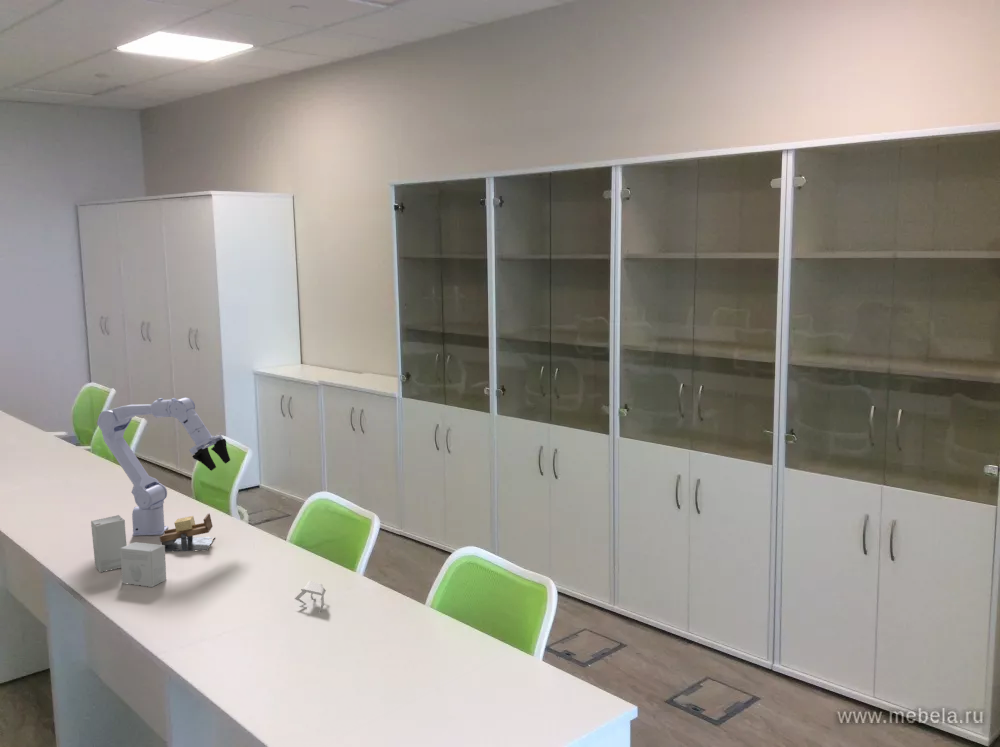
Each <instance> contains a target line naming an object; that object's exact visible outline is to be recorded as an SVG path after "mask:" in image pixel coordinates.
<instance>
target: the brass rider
mask: <svg viewBox="0 0 1000 747" xmlns="http://www.w3.org/2000/svg"><path fill="white" fill-rule="evenodd" d="M195 524H196V522H195V517H194V515H191V516H185V517H180V518H177V519H176V520H175V521H174V526H175V528H176V532H177V533H178V532H183V531H188V530H193V529H195V528H196V525H195ZM175 528H174V529H175Z"/></svg>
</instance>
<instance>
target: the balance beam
mask: <svg viewBox="0 0 1000 747" xmlns="http://www.w3.org/2000/svg"><path fill="white" fill-rule="evenodd" d="M195 525H196V528H195V529H193V530H188V531H183V532H178V533H177V532H176V528H171V529H166V530H165V531H164V533H163V534H162V535H159V540H160V543H161V545H170V544H174V542H175V541H176V540H177V539H179V538H181V534H187V537H189V536H193V537H194V536H199V535H203V534H207V533H209V532H210V531H211V530H212V528H213V526H214V525H213V522H212V519H211V514H210V513H207V514H205V517H204V519H203V522H201V523H195Z"/></svg>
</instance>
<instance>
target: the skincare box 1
mask: <svg viewBox="0 0 1000 747" xmlns="http://www.w3.org/2000/svg"><path fill="white" fill-rule="evenodd" d="M90 524H91V525H90V526H91V527H90V528H91V537H92V545H93V558H94V566H96V567H95V568H96V569H97V571H98V570H99V571H100V572H102V573H104V572H103V571H105V572H107V571H106V570H110V571H112V570H111V569H114V570H118V569H121V553H120V548H122V547H124V546H127V545H128V544H127V534H126V532H127V531H126V522H125V519H124V518H123V517H121V515H119V514H117V515H113V516H108V517H103V518H99V519H95V520H91V521H90ZM117 568H118V569H117ZM99 571H98V572H99ZM100 572H99V573H100Z"/></svg>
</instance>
